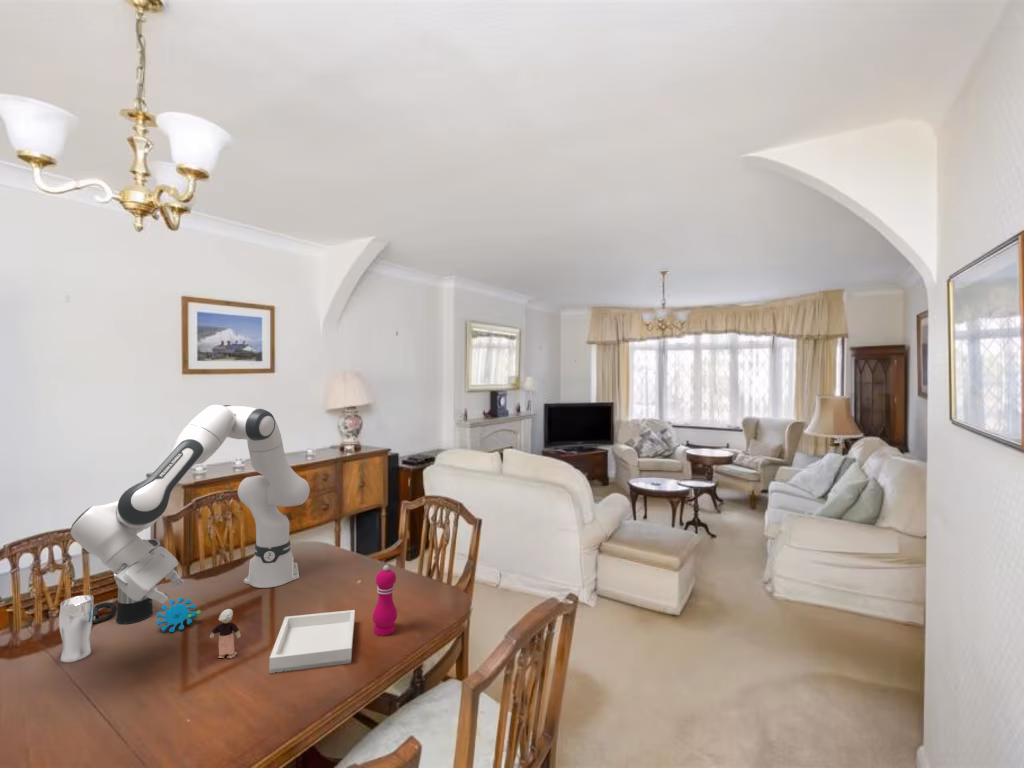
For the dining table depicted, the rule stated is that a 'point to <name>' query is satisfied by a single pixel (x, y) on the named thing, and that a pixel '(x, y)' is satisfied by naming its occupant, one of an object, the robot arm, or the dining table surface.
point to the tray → (313, 641)
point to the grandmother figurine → (226, 634)
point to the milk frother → (126, 609)
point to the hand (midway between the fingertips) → (173, 592)
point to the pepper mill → (385, 603)
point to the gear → (177, 614)
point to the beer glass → (76, 627)
